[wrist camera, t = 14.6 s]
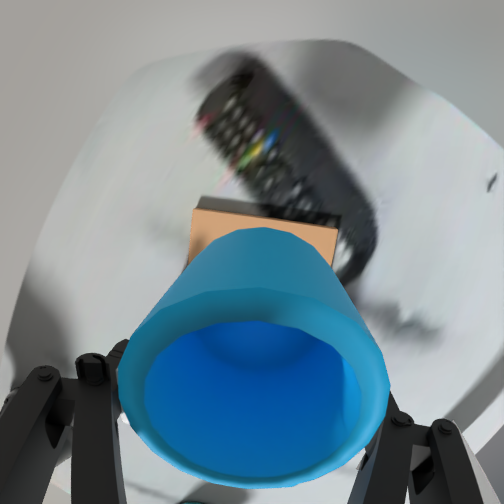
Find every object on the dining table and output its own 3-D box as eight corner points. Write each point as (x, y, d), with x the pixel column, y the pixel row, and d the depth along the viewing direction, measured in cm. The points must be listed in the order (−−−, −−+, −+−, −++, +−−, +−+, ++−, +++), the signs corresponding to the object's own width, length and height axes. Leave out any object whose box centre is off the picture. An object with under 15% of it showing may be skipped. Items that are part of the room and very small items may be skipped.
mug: (160, 250, 16) (73, 319, 8) (321, 208, 15) (377, 249, 7) (228, 425, 18) (211, 530, 11) (355, 400, 18) (386, 505, 10)
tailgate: (186, 290, 31) (192, 209, 29) (189, 286, 32) (195, 207, 30) (321, 309, 31) (338, 229, 29) (320, 304, 32) (335, 227, 30)
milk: (457, 437, 37) (507, 534, 15) (425, 456, 38) (467, 558, 16) (453, 418, 36) (512, 524, 14) (419, 439, 37) (466, 552, 15)
